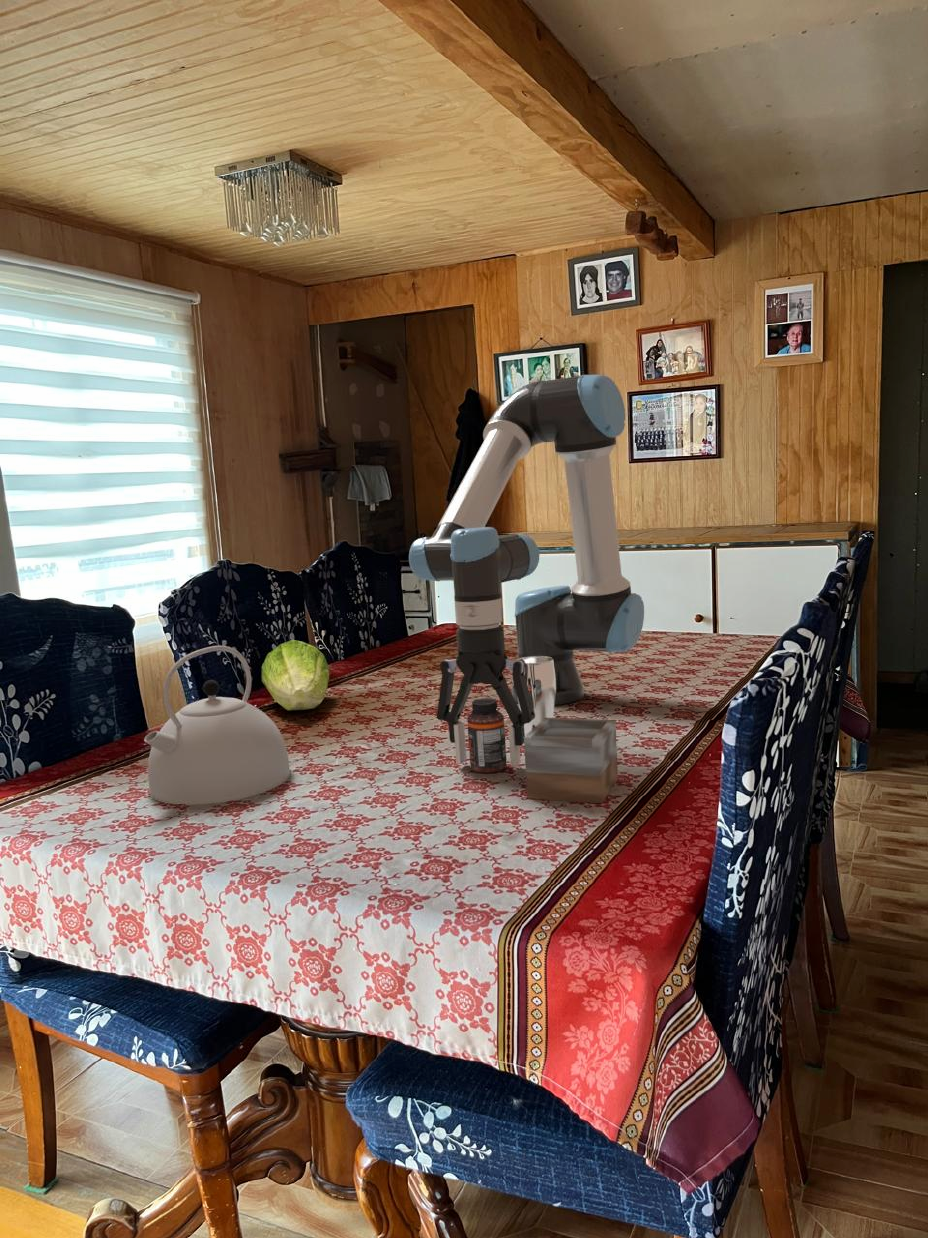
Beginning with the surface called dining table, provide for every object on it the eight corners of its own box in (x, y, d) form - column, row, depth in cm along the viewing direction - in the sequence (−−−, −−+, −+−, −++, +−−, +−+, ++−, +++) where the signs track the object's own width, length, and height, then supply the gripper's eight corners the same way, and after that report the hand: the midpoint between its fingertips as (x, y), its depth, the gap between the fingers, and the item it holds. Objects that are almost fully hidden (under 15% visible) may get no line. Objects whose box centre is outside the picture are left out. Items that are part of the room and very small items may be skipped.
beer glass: (562, 738, 166) (558, 655, 164) (553, 749, 159) (549, 663, 157) (525, 737, 168) (520, 655, 166) (514, 748, 162) (509, 663, 160)
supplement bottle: (468, 764, 154) (464, 697, 153) (504, 761, 155) (500, 694, 153) (472, 775, 148) (467, 706, 147) (509, 772, 149) (505, 703, 147)
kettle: (204, 819, 137) (187, 668, 134) (107, 798, 149) (89, 660, 146) (318, 769, 157) (306, 638, 154) (225, 755, 170) (212, 633, 167)
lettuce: (341, 723, 192) (268, 738, 189) (332, 690, 215) (267, 703, 212) (329, 656, 188) (254, 670, 185) (321, 629, 211) (255, 641, 209)
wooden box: (548, 774, 146) (545, 717, 145) (617, 778, 142) (615, 720, 141) (527, 798, 136) (523, 737, 135) (601, 803, 132) (598, 740, 131)
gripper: (408, 629, 149) (418, 766, 152) (537, 629, 141) (545, 773, 144) (427, 622, 155) (436, 753, 159) (551, 621, 148) (558, 759, 151)
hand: (488, 763), depth 151 cm, fingers open, 9 cm apart
